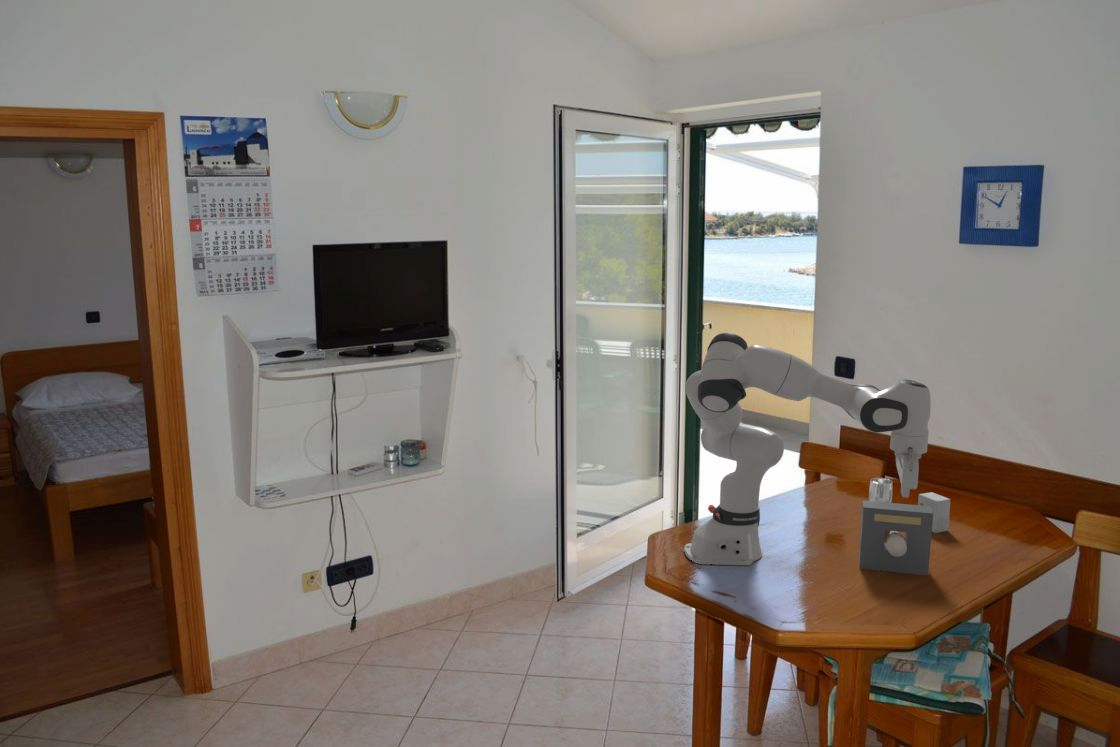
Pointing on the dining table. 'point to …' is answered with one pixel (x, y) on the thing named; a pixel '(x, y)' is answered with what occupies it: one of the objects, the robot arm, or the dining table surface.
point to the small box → (937, 510)
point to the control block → (898, 519)
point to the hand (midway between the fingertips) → (904, 495)
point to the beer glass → (880, 490)
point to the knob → (896, 544)
